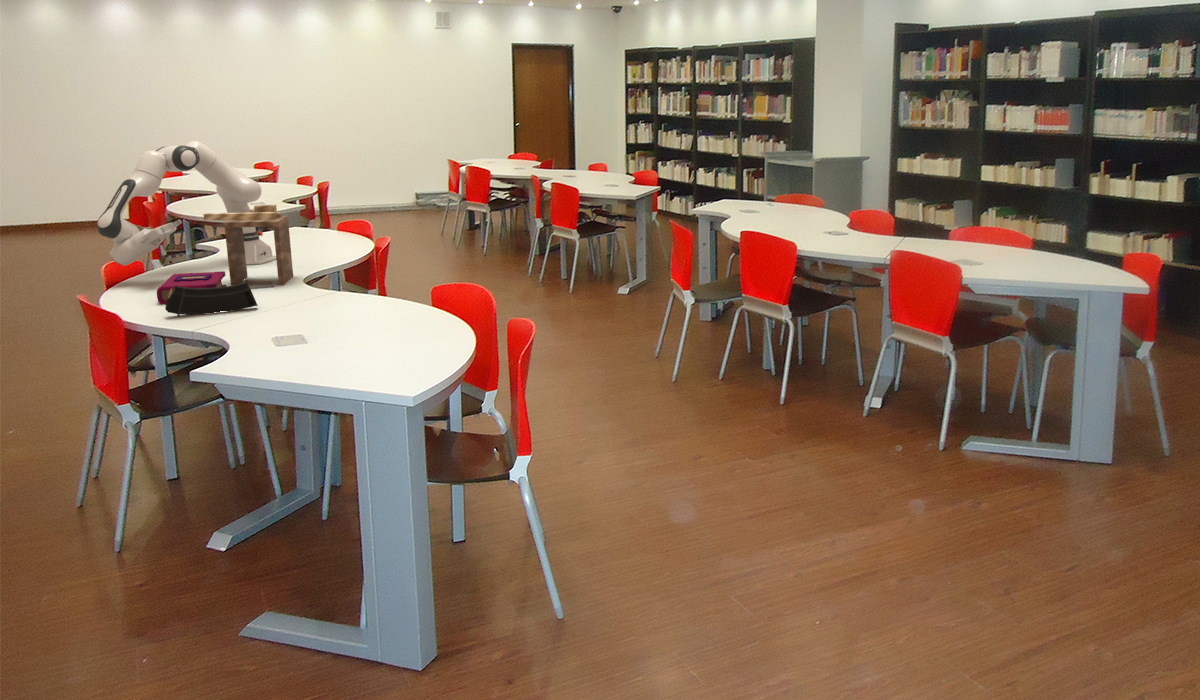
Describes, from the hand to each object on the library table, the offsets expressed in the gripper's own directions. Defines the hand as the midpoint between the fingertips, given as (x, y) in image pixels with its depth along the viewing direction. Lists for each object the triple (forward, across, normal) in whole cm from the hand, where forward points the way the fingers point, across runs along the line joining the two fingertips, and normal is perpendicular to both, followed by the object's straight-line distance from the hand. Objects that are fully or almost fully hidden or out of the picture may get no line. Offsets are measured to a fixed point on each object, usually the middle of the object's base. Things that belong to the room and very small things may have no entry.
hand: (176, 222), depth 393 cm
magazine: (+11, -58, +37) cm, 69 cm away
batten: (+22, 0, +12) cm, 25 cm away
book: (-3, -26, +28) cm, 38 cm away
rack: (+15, +1, +38) cm, 41 cm away
